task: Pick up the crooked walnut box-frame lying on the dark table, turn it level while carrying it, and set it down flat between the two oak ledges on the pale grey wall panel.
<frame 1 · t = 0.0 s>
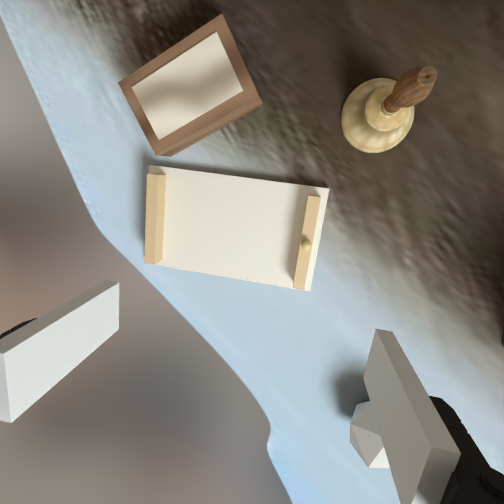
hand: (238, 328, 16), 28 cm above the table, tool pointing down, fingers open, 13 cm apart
hand bell: (375, 117, 38), on the table
frame: (200, 98, 40), on the table
die: (374, 411, 48), on the table
wall panel: (232, 227, 43), on the table
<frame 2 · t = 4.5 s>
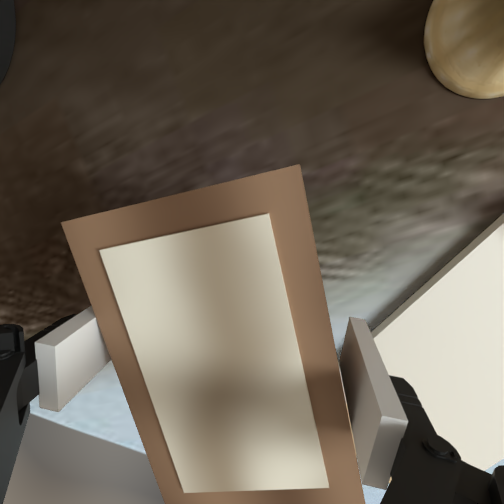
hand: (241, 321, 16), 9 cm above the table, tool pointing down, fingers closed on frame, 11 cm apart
hand bell: (494, 27, 19), on the table
frame: (243, 315, 17), point 8 cm above the table, touching gripper
wall panel: (476, 358, 24), on the table
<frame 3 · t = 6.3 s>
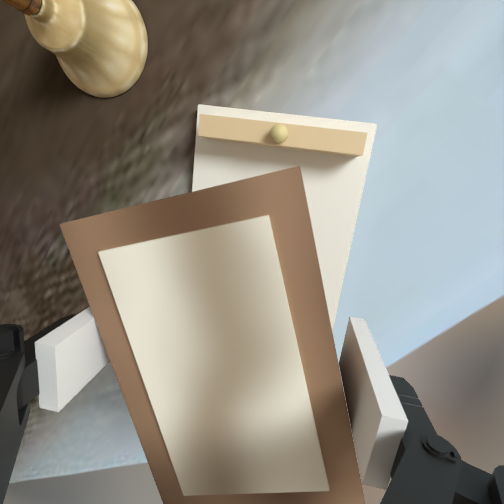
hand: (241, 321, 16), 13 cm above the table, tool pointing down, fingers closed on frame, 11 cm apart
hand bell: (102, 44, 26), on the table
frame: (243, 316, 17), point 12 cm above the table, touching gripper
wall panel: (265, 257, 28), on the table
when the fingers open (2 cm above the table, at t = 8.6 s): frame stays where it is, resting on wall panel.
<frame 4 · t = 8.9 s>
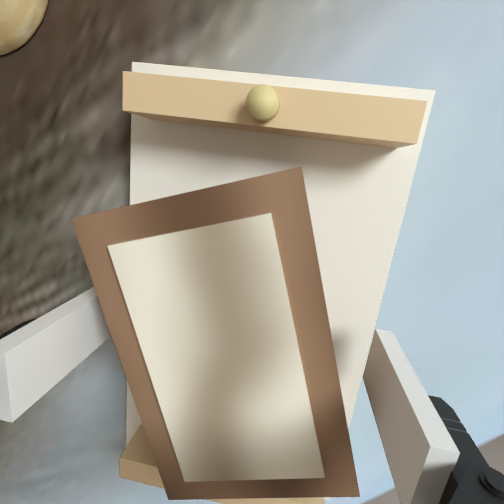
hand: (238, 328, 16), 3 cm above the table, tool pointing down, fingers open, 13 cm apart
frame: (243, 311, 18), point 1 cm above the table, touching wall panel
wall panel: (247, 304, 18), on the table
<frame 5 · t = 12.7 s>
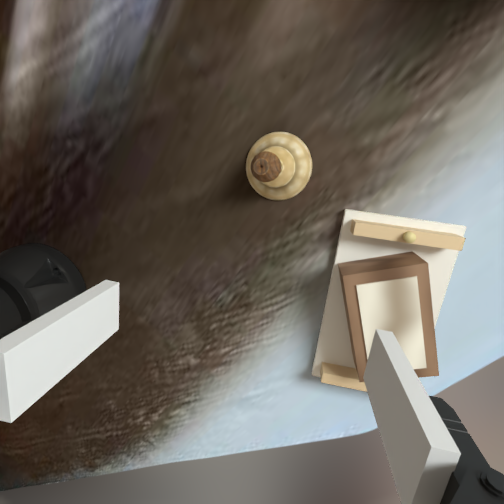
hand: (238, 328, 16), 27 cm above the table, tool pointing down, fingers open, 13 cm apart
hand bell: (278, 167, 39), on the table
frame: (381, 308, 41), point 1 cm above the table, touching wall panel
wall panel: (379, 305, 42), on the table
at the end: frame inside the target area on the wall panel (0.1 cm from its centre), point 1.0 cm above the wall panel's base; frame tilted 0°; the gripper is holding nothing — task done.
